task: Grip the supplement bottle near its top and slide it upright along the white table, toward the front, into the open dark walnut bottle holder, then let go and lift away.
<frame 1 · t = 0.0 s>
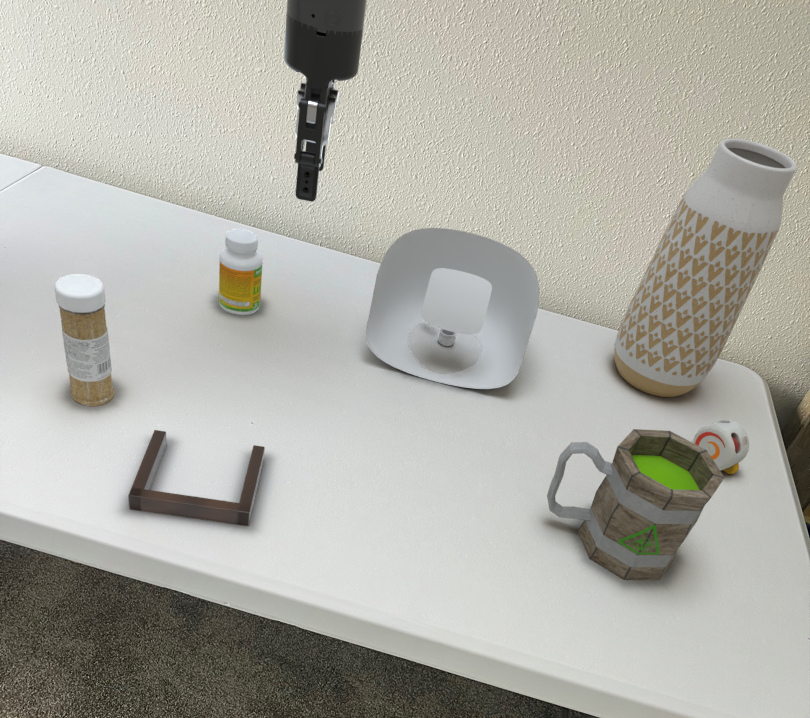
hand: (309, 183, 87), 20 cm above the table, tool pointing down, fingers open, 8 cm apart
holder: (201, 480, 80), on the table
supplement bottle: (239, 307, 104), on the table
rounded square lampshade: (444, 346, 107), on the table
mug: (602, 541, 85), on the table
vase: (650, 378, 111), on the table
sprinkles bottle: (92, 397, 86), on the table
roller toy: (709, 464, 99), on the table
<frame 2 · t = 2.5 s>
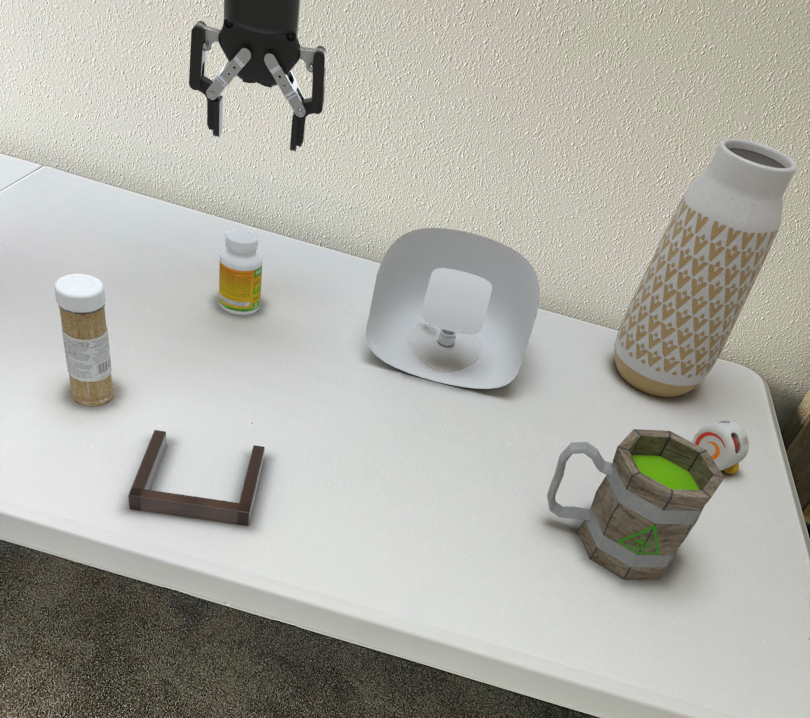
hand: (255, 141, 88), 22 cm above the table, tool pointing down, fingers open, 8 cm apart
nothing on the table moved.
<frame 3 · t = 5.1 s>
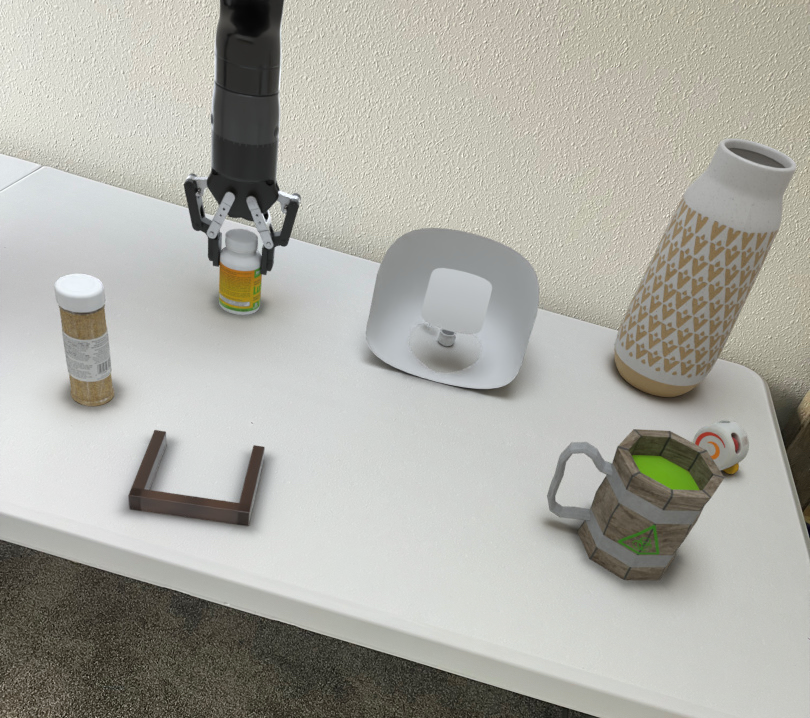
hand: (240, 267, 100), 5 cm above the table, tool pointing down, fingers closed on supplement bottle, 5 cm apart
supplement bottle: (239, 307, 104), on the table, touching gripper
everything else where it was.
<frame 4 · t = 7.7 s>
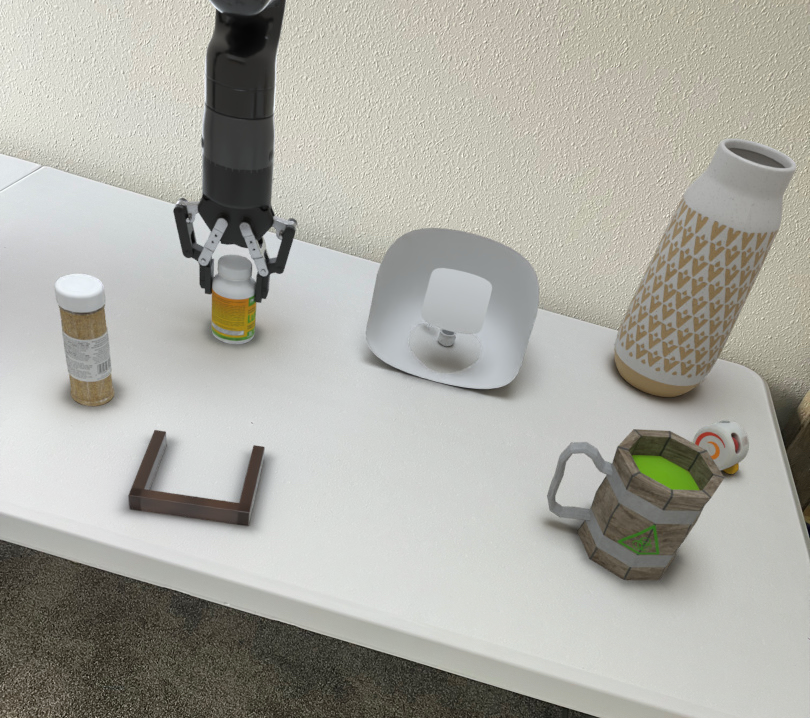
hand: (234, 294, 95), 6 cm above the table, tool pointing down, fingers closed on supplement bottle, 5 cm apart
supplement bottle: (233, 335, 99), on the table, touching gripper
everything else where it was.
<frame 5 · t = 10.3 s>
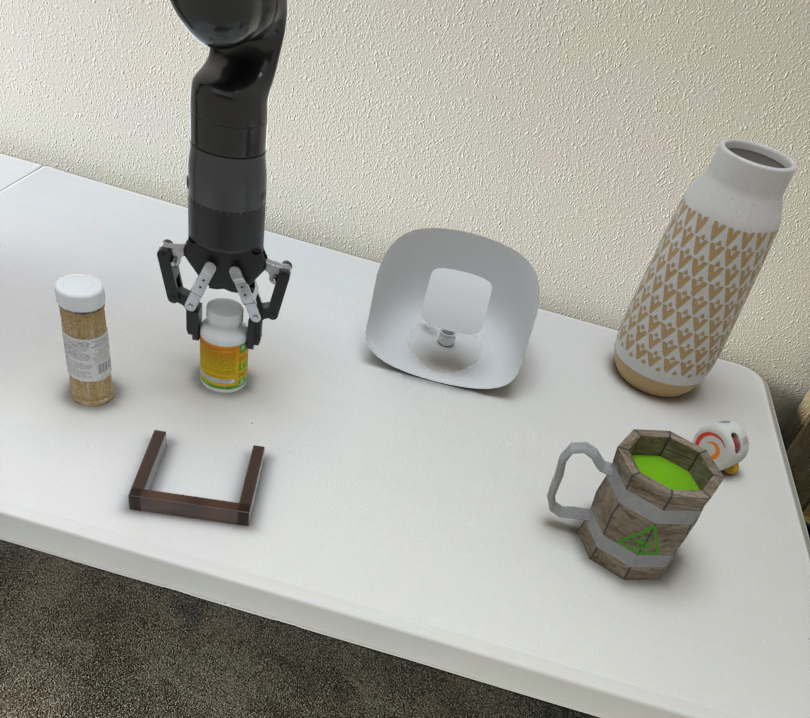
hand: (224, 340, 88), 6 cm above the table, tool pointing down, fingers closed on supplement bottle, 5 cm apart
supplement bottle: (223, 382, 92), on the table, touching gripper
everything else where it was.
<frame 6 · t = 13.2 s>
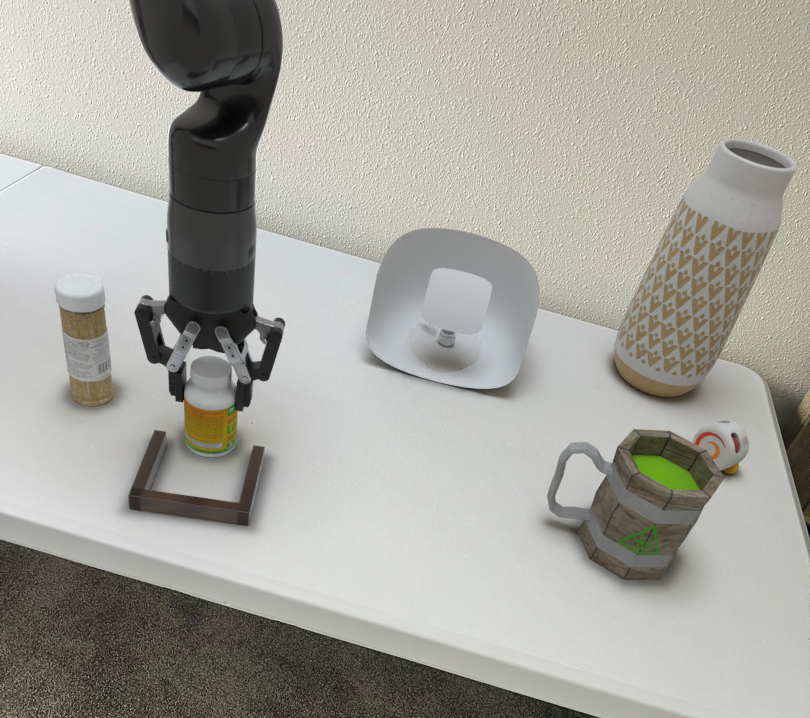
hand: (210, 401, 80), 6 cm above the table, tool pointing down, fingers closed on supplement bottle, 5 cm apart
supplement bottle: (210, 444, 84), on the table, touching gripper
everything else where it was.
when the fingers open (6 cm above the table, at t = 15.3 s): supplement bottle stays where it is, on the table.
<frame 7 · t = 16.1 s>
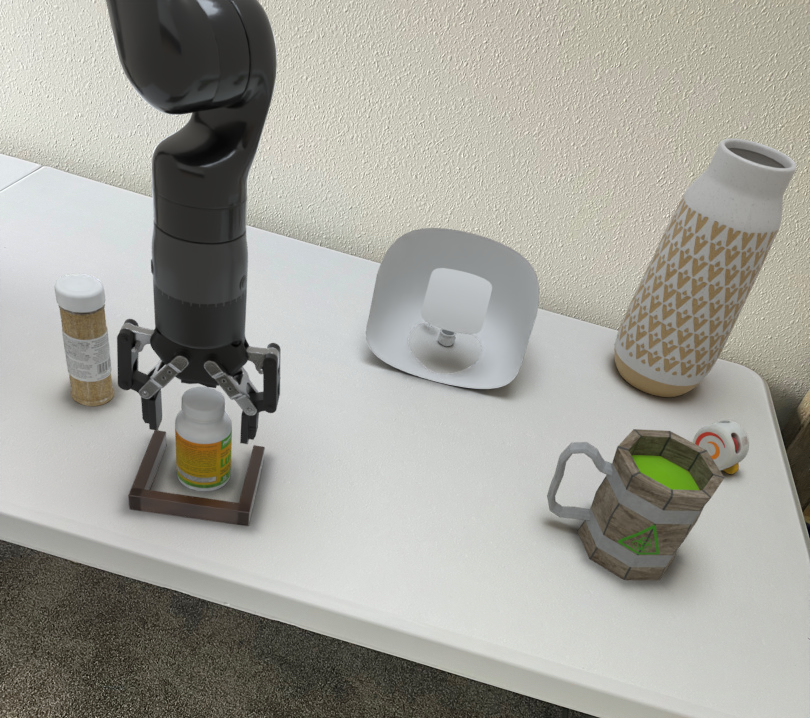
hand: (200, 431, 75), 6 cm above the table, tool pointing down, fingers open, 8 cm apart
supplement bottle: (203, 476, 81), on the table
everything else where it was.
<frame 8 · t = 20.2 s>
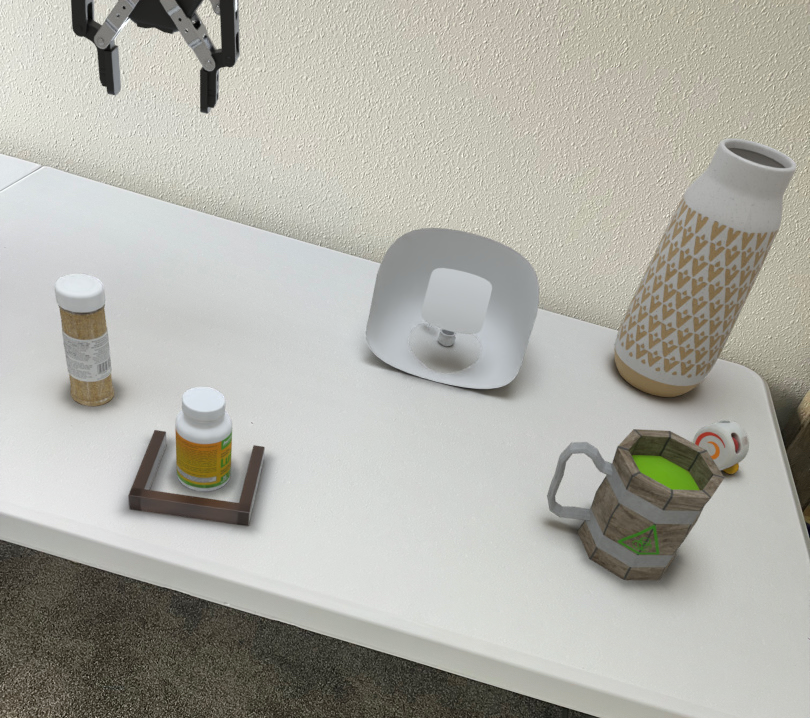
hand: (160, 101, 74), 28 cm above the table, tool pointing down, fingers open, 8 cm apart
nothing on the table moved.
at the end: supplement bottle 0.8 cm off-centre on the holder, point 0.0 cm above the holder's base; supplement bottle tilted 0°; the gripper is holding nothing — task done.
